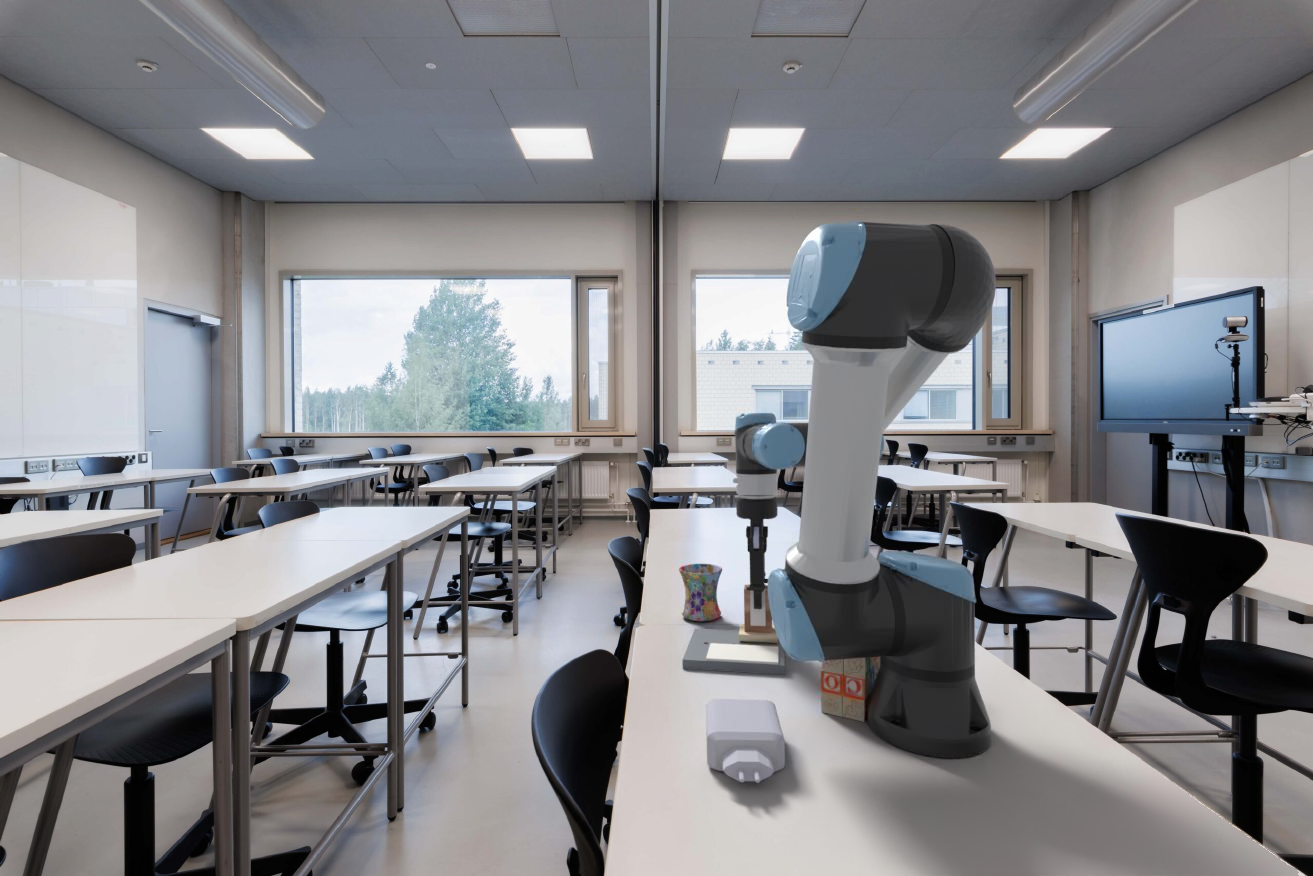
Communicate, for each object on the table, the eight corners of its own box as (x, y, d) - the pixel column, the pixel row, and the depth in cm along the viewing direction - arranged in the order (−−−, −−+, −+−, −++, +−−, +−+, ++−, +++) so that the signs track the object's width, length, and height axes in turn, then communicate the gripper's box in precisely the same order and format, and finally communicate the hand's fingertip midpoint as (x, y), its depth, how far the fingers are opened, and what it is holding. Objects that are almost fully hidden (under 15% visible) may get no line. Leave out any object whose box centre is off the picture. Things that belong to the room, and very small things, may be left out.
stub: (777, 643, 109) (777, 592, 109) (738, 641, 111) (738, 590, 110) (777, 631, 115) (777, 583, 115) (740, 630, 117) (739, 582, 116)
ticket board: (784, 674, 100) (784, 663, 100) (682, 668, 103) (682, 657, 103) (783, 640, 115) (783, 630, 115) (695, 636, 119) (694, 626, 119)
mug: (726, 624, 126) (725, 573, 126) (681, 625, 125) (680, 574, 125) (718, 606, 138) (717, 560, 138) (677, 608, 137) (676, 561, 137)
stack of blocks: (865, 724, 83) (864, 635, 83) (820, 713, 87) (819, 628, 86) (893, 669, 102) (893, 596, 101) (855, 662, 105) (854, 591, 105)
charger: (708, 802, 67) (706, 733, 82) (792, 804, 66) (775, 734, 81) (707, 759, 67) (706, 698, 82) (792, 761, 66) (775, 699, 81)
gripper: (738, 491, 121) (740, 608, 121) (733, 501, 105) (735, 635, 106) (777, 491, 120) (778, 609, 120) (777, 501, 104) (779, 637, 104)
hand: (758, 621), depth 113 cm, fingers closed on stub, 3 cm apart
